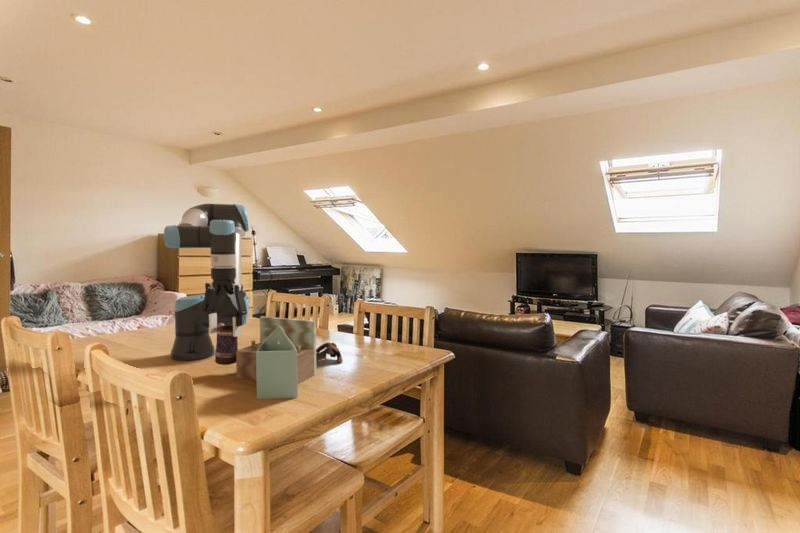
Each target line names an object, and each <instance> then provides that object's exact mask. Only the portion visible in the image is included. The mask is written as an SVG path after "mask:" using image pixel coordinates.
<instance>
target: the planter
mask: <svg viewBox="0 0 800 533" xmlns="http://www.w3.org/2000/svg"><path fill="white" fill-rule="evenodd" d="M279 338H280V344H279V342H278V341H279ZM256 379H257V381H256V399H258V400H270V399H271V400H274V399H297V398H298V397H299V394H298V389H299V388H298V385H299V384H298V375H297V350H296V348H295V347H294V345H293V344H292V342H291V341H290V340H289V338H288V337H287V335H286V334H285V333H284V331H283V330H282V328H281V327H280V325H278V326H277V328H276V329H275V330H274V331H273V332H272V333H271V334H270V335H269V336H268V337H267V338H266V339H265V340H264V341H263V342H262V344H261V345H260V346H259V348H258V349H257V351H256Z"/></svg>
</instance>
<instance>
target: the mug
mask: <svg viewBox="0 0 800 533" xmlns="http://www.w3.org/2000/svg"><path fill="white" fill-rule="evenodd" d="M238 337H239V336H236V337H233V326H232V325H224V324H223V323H219V324H218V325H217V332H216V343H215V344H216V346H215V349H214V357H215V360H214V362H215V363H216V364H217V365H221V366H222V365H223V366H229V365H233V364H236V350H239V349H238V345H239V343H238V339H239V338H238Z"/></svg>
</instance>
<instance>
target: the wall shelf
mask: <svg viewBox="0 0 800 533" xmlns="http://www.w3.org/2000/svg"><path fill="white" fill-rule="evenodd" d="M278 325H280V327H281V328H282V330H283V331H284V333H285V334H286V335H287V337H288V338H289V340H290V341H291V342H292V344H293V345H294V347H295V348H296V350H297V375H298V385H300V384H301V383H303V382H305V381H307V380H309V379H311V378H313V377H315V376H316V375H317V362H316V353H317V352H316V349H317V321H316V320H308V319H295V318H285V317H284V318H283V317H272V316H263V315H261V316H260V317H259V341H260V342H258V343H256V340H251V343H250V344H251V345H249V346H246V347H243V348H239V349H238V350H236V363H235V364H236V369H235V370H236V379H240V380H241V379H242V380H248V381H255V382H257V379H256V351H257V349H258V348H259V346H260V345H261V344H262V342H263V341H264V340H265V339H266V338H267V337H268V336H269V335H270V334H271V333H272V332H273V331H274V330H275V329H276V328H277V326H278ZM278 342H279V344H280V338H279V341H278Z"/></svg>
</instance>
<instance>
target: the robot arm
mask: <svg viewBox="0 0 800 533" xmlns="http://www.w3.org/2000/svg"><path fill="white" fill-rule="evenodd" d="M247 214H248V212H247V209H246V207H245V206H244V205H243V204H236V203H233V204H230V203H229V204H226V203H202V204H198V205H195V206H193V207H190V208H188V209H187V210H186V211H185V212H184V213H183V214H182V217H181V221H180V222H179V224H178V225H176V224H173V225H166V226H165V228H164V230H163V240H164V245H165V246H166V247H167V248H169V249H170V248H171V249H210V266H211V269H210V278H211V280H212V282H206V283H205V284H204V286H205V291H204V293H199V294H193V295H187V296H183V297H179V298H178V299H176V300H175V302H174V311H173V312H174V329H175V330H174V331H175V332H174V334H175V338H174V341H173V343H172V344H173V345H172V349H171V350H170V359H172V360H175V361H194V360H201V359H205V358H210V357H211V356H214V355H215V346H214V345H213V340H212V338H211V336H210V335H211V334H215V333H216V334H217V325H218V324H219V323H223V324H224V325H232V326H233V337H236V336H238V337H239V336H241V335H242V326H244V325H247V324H246V323H247V321H248V318H249V311H250V300H251V299H250V296H249V295H247V292H246V291H245V290H244V289H243V288H244V285H243V279H242V278H243V275H242V274H243V270H242V269H243V266H242V265H243V264H242V263H243V261H242V254H243V253H242V248H243V247H242V246H243V244H242V239H243V238H244V237H245V235H246V232H248V231H249V229H250V228H249V221H248V215H247Z"/></svg>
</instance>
